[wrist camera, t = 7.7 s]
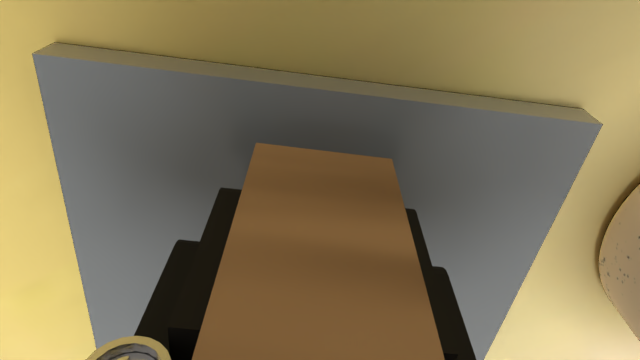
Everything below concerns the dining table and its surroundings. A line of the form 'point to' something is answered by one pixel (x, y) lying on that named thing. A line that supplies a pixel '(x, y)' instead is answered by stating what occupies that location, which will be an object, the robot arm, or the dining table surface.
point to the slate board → (301, 132)
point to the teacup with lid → (623, 261)
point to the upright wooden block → (319, 265)
